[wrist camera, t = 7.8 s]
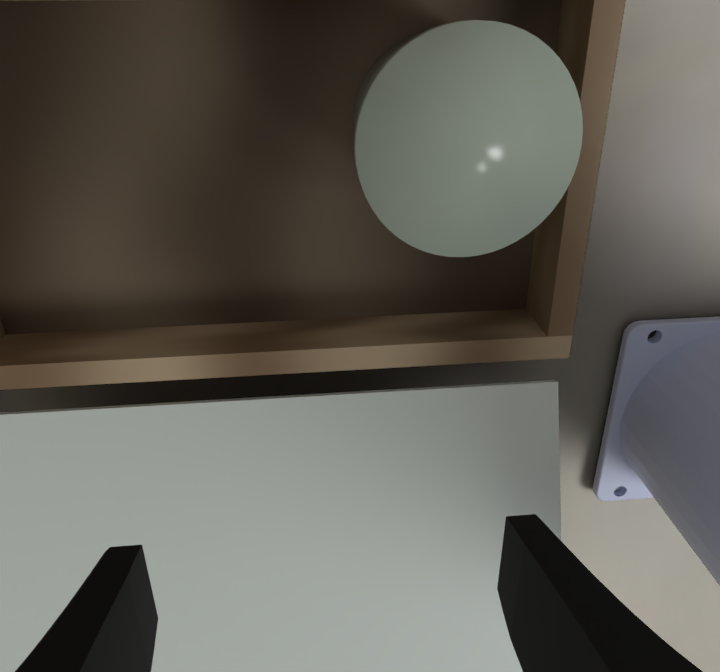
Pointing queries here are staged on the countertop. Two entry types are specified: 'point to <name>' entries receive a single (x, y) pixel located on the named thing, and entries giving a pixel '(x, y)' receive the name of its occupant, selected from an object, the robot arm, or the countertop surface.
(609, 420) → the robot arm
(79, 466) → the lid
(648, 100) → the countertop surface
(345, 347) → the brown rectangular frame
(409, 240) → the glazed pot
